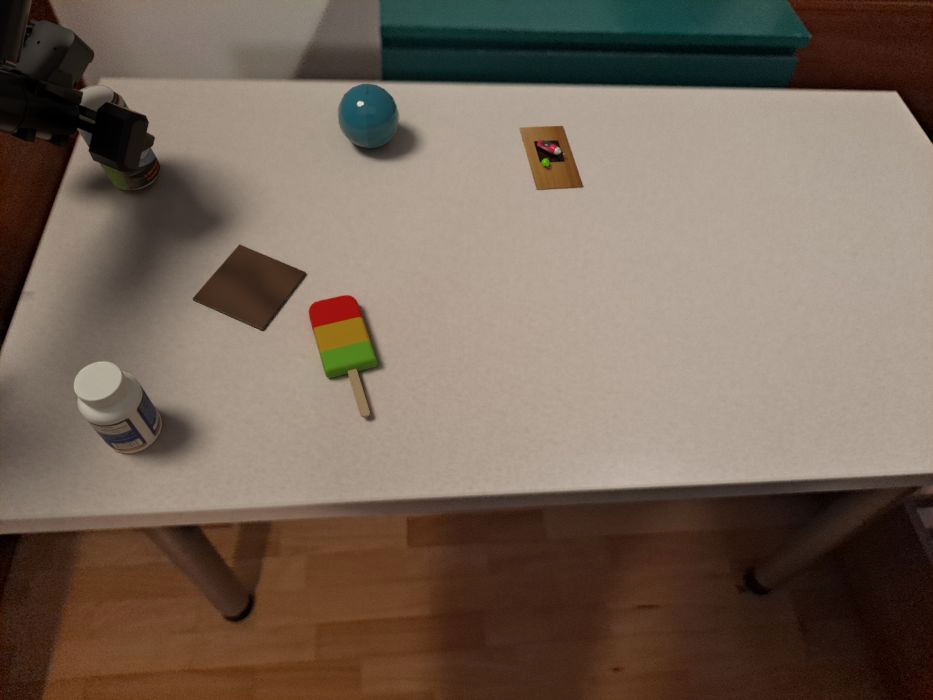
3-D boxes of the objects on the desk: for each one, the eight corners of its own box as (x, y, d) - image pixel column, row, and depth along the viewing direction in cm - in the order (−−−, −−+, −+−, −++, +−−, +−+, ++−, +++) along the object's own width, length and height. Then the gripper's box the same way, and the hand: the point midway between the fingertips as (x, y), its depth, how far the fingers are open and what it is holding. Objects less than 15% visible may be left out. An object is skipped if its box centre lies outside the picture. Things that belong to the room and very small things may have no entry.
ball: (400, 122, 95) (400, 71, 88) (398, 162, 91) (398, 112, 84) (341, 120, 94) (337, 68, 88) (337, 160, 90) (332, 109, 83)
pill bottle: (134, 396, 69) (98, 344, 61) (174, 422, 68) (144, 372, 60) (92, 437, 67) (49, 388, 59) (134, 464, 66) (96, 418, 57)
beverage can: (157, 198, 84) (123, 117, 74) (95, 194, 84) (53, 113, 74) (169, 162, 87) (139, 81, 77) (110, 159, 87) (72, 76, 77)
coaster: (262, 331, 75) (262, 329, 75) (193, 300, 76) (192, 298, 76) (306, 274, 80) (305, 272, 79) (240, 246, 81) (239, 244, 81)
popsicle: (355, 300, 78) (354, 290, 76) (392, 413, 71) (392, 404, 69) (307, 311, 77) (305, 302, 75) (339, 427, 69) (338, 419, 68)
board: (536, 189, 90) (538, 181, 89) (519, 128, 96) (520, 119, 95) (582, 187, 91) (585, 178, 90) (562, 127, 97) (564, 118, 96)
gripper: (101, 47, 62) (205, 84, 77) (-61, -15, 65) (69, 33, 80) (75, 166, 65) (180, 180, 79) (-80, 102, 68) (50, 127, 83)
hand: (120, 127), depth 80 cm, fingers open, 9 cm apart
